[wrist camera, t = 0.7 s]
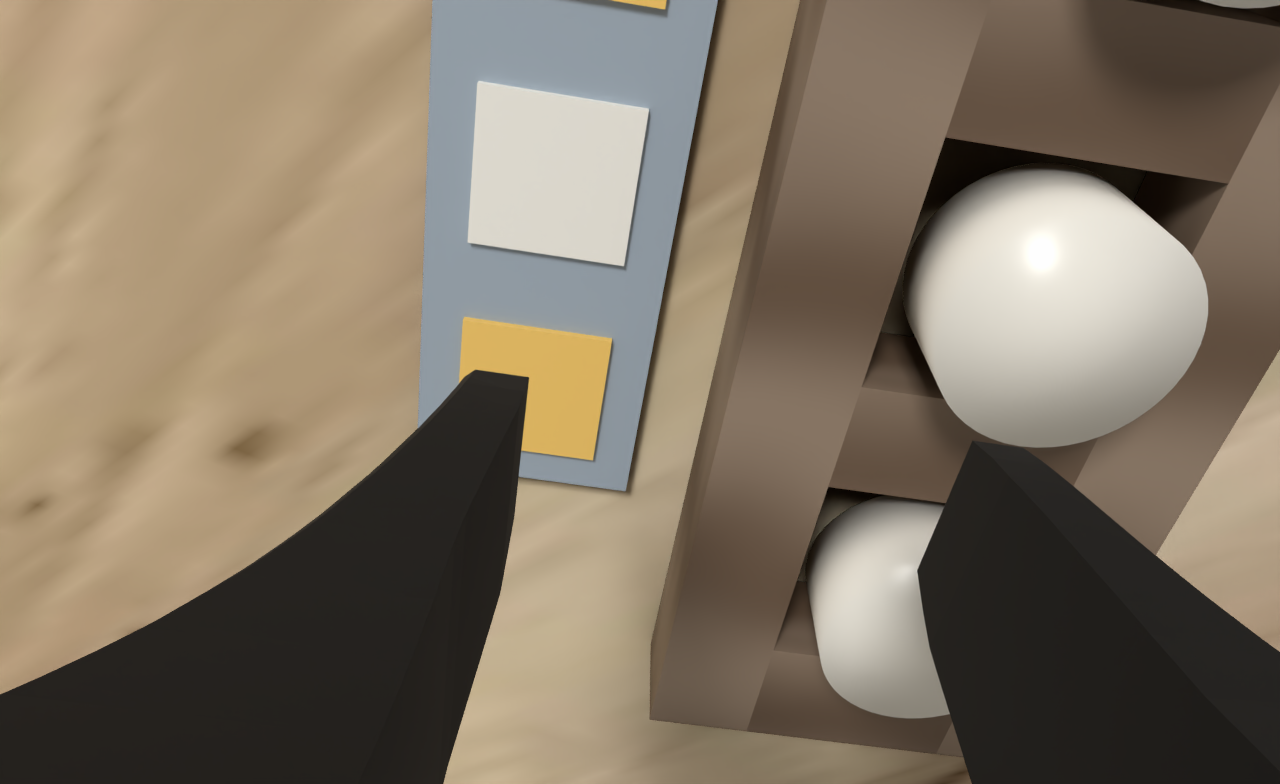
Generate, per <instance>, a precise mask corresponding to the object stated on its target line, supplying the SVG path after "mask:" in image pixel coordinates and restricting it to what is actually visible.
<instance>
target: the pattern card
mask: <svg viewBox="0 0 1280 784" xmlns="http://www.w3.org/2000/svg"><path fill="white" fill-rule="evenodd" d="M717 2H718V0H433V4H432V33H431V62H430V91H429V120H428V149H427V178H426V207H425V236H424V265H423V294H422V323H421V352H420V381H419V410H418V428H419V427H420V426H421V425H422V424H423V423H424V422H425V420H426V419H427V418H428V417H429V416H430V415H431V414H432V413H433V412H434V411H435V410H436V409H437V408H438V407H439V406H440V405H441V404H442V402H443V401H444V400H445V399H446V398H447V397H448V396H449V395H450V393H451V392H452V391H453V390H454V389H455V388H456V387H457V385H458V384H459V383H460V382H461V380H462V379H463V378H464V377H465V376H466V375H468V374H469V373H471V372H472V371H474V370H475V369H476V370H482V371H489V372H496V373H503V374H510V375H517V376H524V377H529V384H528V394H527V403H526V412H525V421H524V430H523V440H522V449H521V458H520V467H519V477H524V478H532V479H539V480H546V481H554V482H561V483H568V484H576V485H583V486H590V487H598V488H605V489H613V490H620V491H626V487H627V481H628V476H629V471H630V465H631V460H632V455H633V449H634V444H635V439H636V434H637V428H638V423H639V418H640V412H641V407H642V402H643V396H644V391H645V386H646V380H647V375H648V370H649V364H650V359H651V354H652V348H653V343H654V338H655V332H656V327H657V322H658V316H659V311H660V306H661V300H662V295H663V290H664V284H665V279H666V274H667V268H668V263H669V258H670V252H671V247H672V242H673V236H674V231H675V226H676V221H677V215H678V210H679V205H680V199H681V194H682V189H683V183H684V178H685V173H686V167H687V162H688V157H689V151H690V146H691V141H692V135H693V130H694V125H695V119H696V114H697V109H698V103H699V98H700V93H701V87H702V82H703V77H704V71H705V66H706V61H707V55H708V50H709V45H710V39H711V34H712V29H713V23H714V18H715V13H716V8H717Z"/></svg>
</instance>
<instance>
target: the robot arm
mask: <svg viewBox="0 0 1280 784" xmlns="http://www.w3.org/2000/svg"><path fill="white" fill-rule="evenodd" d="M528 384H529V377H524V376H517V375H510V374H503V373H496V372H489V371H482V370H476V369H475V370H474V371H472V372H471V373H469V374H468V375H466V376H465V377H464V378H463V379H462V380H461V382H460V383H459V384H458V385H457V387H456V388H455V389H454V390H453V391H452V392H451V393H450V395H449V396H448V397H447V398H446V399H445V400H444V401H443V402H442V404H441V405H440V406H439V407H438V408H437V409H436V410H435V411H434V412H433V413H432V414H431V415H430V416H429V417H428V418H427V419H426V420H425V422H424V423H423V424H422V425H421V426H420V427H419V428H418V429H417V430H416V431H415V432H414V433H413V434H412V435H411V436H410V437H408V438H407V439H406V440H405V441H404V442H403V443H402V444H401V445H400V446H399V447H398V448H397V449H396V450H395V451H394V452H393V453H392V454H391V455H390V456H389V457H387V458H386V459H385V460H384V461H383V462H382V463H381V464H380V465H379V466H378V467H377V468H376V469H375V470H373V471H372V472H371V473H370V474H369V475H368V476H366V477H365V478H364V479H363V480H362V481H360V482H359V483H358V484H357V485H356V486H354V487H353V488H352V489H351V490H350V491H348V492H347V493H346V494H345V495H344V496H342V497H341V498H340V499H339V500H338V501H336V502H335V503H334V504H333V505H332V506H330V507H329V508H328V509H327V510H326V511H324V512H323V513H322V514H321V515H319V516H318V517H317V518H315V519H314V520H313V521H311V522H310V523H309V524H307V525H306V526H305V527H303V528H302V529H301V530H299V531H298V532H297V533H295V534H294V535H293V536H291V537H290V538H288V539H287V540H286V541H284V542H283V543H281V544H280V545H278V546H277V547H276V548H274V549H273V550H271V551H270V552H268V553H267V554H265V555H264V556H262V557H261V558H259V559H258V560H256V561H255V562H254V563H252V564H251V565H249V566H247V567H246V568H244V569H243V570H241V571H240V572H238V573H236V574H235V575H233V576H231V577H230V578H228V579H227V580H225V581H223V582H222V583H220V584H218V585H217V586H215V587H213V588H212V589H210V590H209V591H207V592H205V593H203V594H202V595H200V596H198V597H196V598H195V599H193V600H191V601H189V602H188V603H186V604H184V605H182V606H181V607H179V608H177V609H176V610H174V611H172V612H170V613H169V614H167V615H165V616H163V617H162V618H160V619H158V620H156V621H154V622H153V623H151V624H149V625H147V626H145V627H143V628H141V629H139V630H137V631H135V632H133V633H131V634H129V635H127V636H125V637H123V638H121V639H119V640H117V641H115V642H113V643H111V644H109V645H107V646H105V647H103V648H101V649H99V650H97V651H95V652H93V653H91V654H89V655H87V656H85V657H82V658H80V659H78V660H76V661H74V662H72V663H70V664H67V665H65V666H63V667H61V668H59V669H57V670H54V671H52V672H50V673H48V674H46V675H44V676H42V677H39V678H37V679H35V680H33V681H30V682H28V683H26V684H23V685H21V686H19V687H17V688H14V689H12V690H10V691H8V692H5V693H3V694H1V695H0V784H443V782H444V778H445V774H446V771H447V767H448V763H449V760H450V757H451V753H452V750H453V747H454V743H455V740H456V737H457V734H458V730H459V727H460V724H461V721H462V717H463V714H464V711H465V707H466V704H467V701H468V698H469V694H470V691H471V688H472V684H473V681H474V678H475V675H476V671H477V668H478V665H479V662H480V658H481V655H482V652H483V648H484V645H485V642H486V638H487V635H488V632H489V629H490V625H491V622H492V619H493V615H494V612H495V609H496V605H497V602H498V598H499V595H500V591H501V586H502V580H503V575H504V570H505V564H506V559H507V554H508V548H509V543H510V537H511V531H512V526H513V520H514V514H515V504H516V495H517V486H518V477H519V467H520V458H521V449H522V440H523V430H524V421H525V412H526V403H527V394H528ZM917 573H918V580H919V587H920V594H921V601H922V608H923V614H924V620H925V625H926V631H927V636H928V642H929V647H930V651H931V654H932V658H933V661H934V664H935V668H936V671H937V674H938V678H939V681H940V684H941V687H942V691H943V694H944V697H945V700H946V703H947V707H948V710H949V713H950V716H951V719H952V722H953V726H954V729H955V732H956V735H957V738H958V741H959V744H960V747H961V751H962V754H963V757H964V760H965V763H966V766H967V769H968V772H969V776H970V779H971V782H972V784H1280V652H1279V651H1278V650H1276V649H1275V648H1273V647H1272V646H1271V645H1269V644H1268V643H1267V642H1265V641H1264V640H1262V639H1261V638H1260V637H1258V636H1257V635H1256V634H1255V633H1253V632H1252V631H1251V630H1249V629H1248V628H1247V627H1245V626H1244V625H1243V624H1241V623H1240V622H1239V621H1237V620H1236V619H1235V618H1234V617H1232V616H1231V615H1230V614H1228V613H1227V612H1226V611H1224V610H1223V609H1222V608H1220V607H1219V606H1218V605H1217V604H1215V603H1214V602H1213V601H1211V600H1210V599H1209V598H1207V597H1206V596H1205V595H1204V594H1202V593H1201V592H1200V591H1199V590H1197V589H1196V588H1195V587H1194V586H1192V585H1191V584H1190V583H1189V582H1187V581H1186V580H1185V579H1184V578H1182V577H1181V576H1180V575H1179V574H1178V573H1176V572H1175V571H1174V570H1173V569H1171V568H1170V567H1169V566H1168V565H1167V564H1165V563H1164V562H1163V561H1162V560H1160V559H1159V558H1158V557H1157V556H1156V555H1154V554H1153V553H1152V552H1151V551H1150V550H1148V549H1147V548H1146V547H1145V546H1144V545H1143V544H1141V543H1140V542H1139V541H1138V540H1137V539H1135V538H1134V537H1133V536H1132V535H1131V534H1129V533H1128V532H1127V531H1126V530H1125V529H1124V528H1122V527H1121V526H1120V525H1119V524H1118V523H1116V522H1115V521H1114V520H1113V519H1112V518H1111V517H1109V516H1108V515H1107V514H1106V513H1105V512H1103V511H1102V510H1101V509H1100V508H1099V507H1098V506H1096V505H1095V504H1094V503H1093V502H1092V501H1091V500H1089V499H1088V498H1087V497H1086V496H1085V495H1083V494H1082V493H1081V492H1080V491H1079V490H1077V489H1076V488H1075V487H1074V486H1073V485H1071V484H1070V483H1069V482H1068V481H1067V480H1065V479H1064V478H1063V477H1062V476H1060V475H1059V474H1058V473H1057V472H1056V471H1054V470H1053V469H1052V468H1050V467H1049V466H1048V465H1047V464H1045V463H1044V462H1043V461H1041V460H1040V459H1039V458H1037V457H1036V456H1034V455H1033V454H1032V453H1030V452H1029V451H1027V450H1026V449H1024V448H1021V447H1014V446H1007V445H1000V444H993V443H986V442H979V441H972V443H971V445H970V447H969V450H968V452H967V454H966V457H965V459H964V461H963V464H962V466H961V468H960V471H959V473H958V476H957V478H956V480H955V483H954V485H953V487H952V490H951V492H950V494H949V497H948V499H947V501H946V504H945V506H944V508H943V511H942V513H941V515H940V518H939V520H938V523H937V525H936V527H935V530H934V532H933V534H932V537H931V539H930V541H929V544H928V546H927V548H926V551H925V553H924V555H923V558H922V560H921V563H920V565H919V567H918V570H917Z"/></svg>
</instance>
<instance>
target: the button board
mask: <svg viewBox="0 0 1280 784" xmlns="http://www.w3.org/2000/svg"><path fill="white" fill-rule="evenodd" d="M945 137H946V138H953V139H959V140H965V141H971V142H977V143H983V144H989V145H995V146H1001V147H1007V148H1013V149H1019V150H1026V151H1032V152H1038V153H1044V154H1050V155H1056V156H1062V157H1068V158H1074V159H1080V160H1086V161H1093V162H1099V163H1105V164H1111V165H1117V166H1123V167H1129V168H1135V169H1141V170H1147V171H1148V172H1147V174H1146V176H1145V178H1144V180H1143V182H1142V185H1141V187H1140V189H1139V191H1138V193H1137V195H1136V198H1135V200H1134V202H1133V203H1135V204H1136V205H1137V206H1138V207H1139V208H1140V209H1142V210H1143V211H1144V212H1145V213H1146V214H1147V215H1149V216H1150V217H1151V218H1152V219H1153V220H1154V221H1156V222H1157V223H1158V224H1159V225H1160V226H1161V227H1163V228H1164V229H1165V230H1166V231H1167V232H1168V233H1170V234H1171V235H1172V236H1173V237H1174V238H1175V239H1177V240H1178V241H1179V242H1180V243H1181V244H1182V245H1183V246H1184V247H1185V248H1186V249H1187V250H1188V251H1189V253H1190V254H1191V255H1192V256H1193V257H1194V259H1195V261H1196V262H1197V264H1198V266H1199V268H1200V269H1201V272H1202V275H1203V278H1204V280H1205V283H1206V288H1207V295H1208V317H1207V323H1206V329H1205V333H1204V336H1203V339H1202V342H1201V345H1200V347H1199V349H1198V351H1197V353H1196V356H1195V358H1194V360H1193V361H1192V363H1191V364H1190V366H1189V368H1188V369H1187V371H1186V372H1185V374H1184V375H1183V376H1182V378H1181V379H1180V380H1179V381H1178V383H1177V384H1176V385H1175V386H1174V388H1173V389H1172V390H1171V391H1170V392H1169V393H1168V394H1167V395H1166V396H1165V397H1164V398H1163V399H1162V400H1160V401H1159V402H1158V403H1157V404H1156V405H1154V406H1153V407H1152V408H1151V409H1150V410H1148V411H1147V412H1145V413H1144V414H1142V415H1141V416H1140V417H1138V418H1137V419H1135V420H1134V421H1132V422H1130V423H1128V424H1126V425H1124V426H1123V427H1121V428H1119V429H1117V430H1115V431H1112V432H1110V433H1108V434H1105V435H1103V436H1100V437H1097V438H1094V439H1091V440H1088V441H1085V442H1081V443H1076V444H1072V445H1066V446H1058V447H1041V448H1034V447H1023V446H1016V445H1011V444H1006V443H1003V442H1000V441H997V440H994V439H991V438H989V437H987V436H984V435H982V434H980V433H978V432H977V431H975V430H974V429H972V428H971V427H969V426H968V425H966V424H965V423H964V422H963V421H962V420H961V419H960V418H959V417H958V416H957V415H956V414H955V413H954V412H953V410H952V409H951V408H950V407H949V405H948V404H947V402H946V400H945V399H944V397H943V395H942V393H941V391H940V389H939V387H938V385H937V382H936V380H935V378H934V376H933V374H932V372H931V370H930V367H929V365H928V363H927V361H926V359H925V357H924V355H923V353H922V350H921V348H920V346H919V344H918V342H917V340H916V338H915V337H908V336H902V335H895V334H888V333H882V332H880V331H881V328H882V325H883V322H884V319H885V316H886V313H887V310H888V307H889V304H890V301H891V298H892V295H893V292H894V289H895V286H896V283H897V280H898V277H899V274H900V271H901V268H902V265H903V262H904V259H905V256H906V253H907V250H908V247H909V244H910V241H911V238H912V235H913V232H914V229H915V226H916V223H917V220H918V217H919V214H920V211H921V208H922V205H923V202H924V199H925V196H926V193H927V190H928V187H929V184H930V181H931V178H932V175H933V172H934V169H935V166H936V163H937V160H938V157H939V154H940V151H941V148H942V145H943V142H944V139H945ZM1279 350H1280V5H1277V6H1271V7H1265V8H1233V7H1223V6H1219V5H1215V4H1211V3H1207V2H1203V1H1201V0H800V4H799V8H798V13H797V17H796V21H795V25H794V30H793V34H792V38H791V43H790V47H789V51H788V56H787V60H786V64H785V69H784V73H783V77H782V81H781V86H780V90H779V94H778V99H777V103H776V107H775V112H774V116H773V120H772V125H771V129H770V133H769V137H768V142H767V146H766V150H765V155H764V159H763V163H762V168H761V172H760V176H759V181H758V185H757V189H756V193H755V198H754V202H753V206H752V211H751V215H750V219H749V224H748V228H747V232H746V237H745V241H744V245H743V249H742V254H741V258H740V262H739V267H738V271H737V275H736V280H735V284H734V288H733V293H732V297H731V301H730V305H729V310H728V314H727V318H726V323H725V327H724V331H723V336H722V340H721V344H720V349H719V353H718V357H717V361H716V366H715V370H714V374H713V379H712V383H711V387H710V392H709V396H708V400H707V405H706V409H705V413H704V417H703V422H702V426H701V430H700V435H699V439H698V443H697V448H696V452H695V456H694V461H693V465H692V469H691V473H690V478H689V482H688V486H687V491H686V495H685V499H684V504H683V508H682V512H681V517H680V521H679V525H678V529H677V534H676V538H675V542H674V547H673V551H672V555H671V560H670V564H669V568H668V573H667V577H666V581H665V585H664V590H663V594H662V598H661V603H660V607H659V611H658V616H657V620H656V624H655V629H654V633H653V637H652V641H651V666H650V720H657V721H666V722H674V723H682V724H691V725H699V726H707V727H716V728H724V729H732V730H741V731H749V732H757V733H766V734H774V735H782V736H791V737H799V738H807V739H816V740H824V741H832V742H841V743H849V744H857V745H866V746H874V747H882V748H891V749H899V750H907V751H916V752H924V753H932V754H940V755H949V756H957V757H963V754H962V751H961V747H960V744H959V741H958V738H957V735H956V732H955V729H954V726H953V722H952V719H951V716H950V714H948V715H943V716H937V717H929V718H896V717H890V716H884V715H880V714H876V713H872V712H869V711H867V710H864V709H862V708H859V707H857V706H855V705H854V704H852V703H850V702H848V701H847V700H846V699H844V698H843V697H841V696H840V695H839V694H838V693H837V692H836V691H835V690H834V689H833V687H832V686H831V685H830V683H829V682H828V680H827V678H826V677H825V675H824V672H823V669H822V665H821V660H820V655H819V650H818V644H817V639H816V633H815V628H814V622H813V617H812V611H811V606H810V600H809V595H808V589H807V584H806V582H800V581H797V579H798V576H799V573H800V570H801V567H802V564H803V561H804V558H805V555H806V552H807V549H808V546H809V543H810V540H811V537H812V534H813V531H814V528H815V525H816V522H817V519H818V516H819V513H820V510H821V507H822V504H823V501H824V498H825V495H826V492H827V489H828V487H833V488H840V489H847V490H855V491H862V492H869V493H876V494H884V495H891V496H898V497H905V498H912V499H920V500H927V501H934V502H941V503H946V501H947V499H948V497H949V494H950V492H951V490H952V487H953V485H954V483H955V480H956V478H957V476H958V473H959V471H960V468H961V466H962V464H963V461H964V459H965V457H966V454H967V452H968V450H969V447H970V445H971V443H972V441H979V442H986V443H993V444H1000V445H1007V446H1014V447H1021V448H1024V449H1026V450H1027V451H1029V452H1030V453H1032V454H1033V455H1034V456H1036V457H1037V458H1039V459H1040V460H1041V461H1043V462H1044V463H1045V464H1047V465H1048V466H1049V467H1050V468H1052V469H1053V470H1054V471H1056V472H1057V473H1058V474H1059V475H1060V476H1062V477H1063V478H1064V479H1065V480H1067V481H1068V482H1069V483H1070V484H1071V485H1073V486H1074V487H1075V488H1076V489H1077V490H1079V491H1080V492H1081V493H1082V494H1083V495H1085V496H1086V497H1087V498H1088V499H1089V500H1091V501H1092V502H1093V503H1094V504H1095V505H1096V506H1098V507H1099V508H1100V509H1101V510H1102V511H1103V512H1105V513H1106V514H1107V515H1108V516H1109V517H1111V518H1112V519H1113V520H1114V521H1115V522H1116V523H1118V524H1119V525H1120V526H1121V527H1122V528H1124V529H1125V530H1126V531H1127V532H1128V533H1129V534H1131V535H1132V536H1133V537H1134V538H1135V539H1137V540H1138V541H1139V542H1140V543H1141V544H1143V545H1144V546H1145V547H1146V548H1147V549H1148V550H1150V551H1151V552H1152V553H1153V554H1154V555H1156V554H1157V552H1158V550H1159V549H1160V547H1161V545H1162V544H1163V542H1164V540H1165V539H1166V537H1167V535H1168V534H1169V532H1170V530H1171V529H1172V527H1173V525H1174V524H1175V522H1176V520H1177V519H1178V517H1179V515H1180V514H1181V512H1182V510H1183V509H1184V507H1185V506H1186V504H1187V502H1188V501H1189V499H1190V497H1191V496H1192V494H1193V492H1194V491H1195V489H1196V487H1197V486H1198V484H1199V482H1200V481H1201V479H1202V477H1203V476H1204V474H1205V472H1206V471H1207V469H1208V467H1209V466H1210V464H1211V462H1212V461H1213V459H1214V457H1215V456H1216V454H1217V452H1218V451H1219V449H1220V447H1221V446H1222V444H1223V443H1224V441H1225V439H1226V438H1227V436H1228V434H1229V433H1230V431H1231V429H1232V428H1233V426H1234V424H1235V423H1236V421H1237V419H1238V418H1239V416H1240V414H1241V413H1242V411H1243V409H1244V408H1245V406H1246V404H1247V403H1248V401H1249V399H1250V398H1251V396H1252V394H1253V393H1254V391H1255V389H1256V388H1257V386H1258V384H1259V383H1260V381H1261V380H1262V378H1263V376H1264V375H1265V373H1266V371H1267V370H1268V368H1269V366H1270V365H1271V363H1272V361H1273V360H1274V358H1275V356H1276V355H1277V353H1278V351H1279Z"/></svg>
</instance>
